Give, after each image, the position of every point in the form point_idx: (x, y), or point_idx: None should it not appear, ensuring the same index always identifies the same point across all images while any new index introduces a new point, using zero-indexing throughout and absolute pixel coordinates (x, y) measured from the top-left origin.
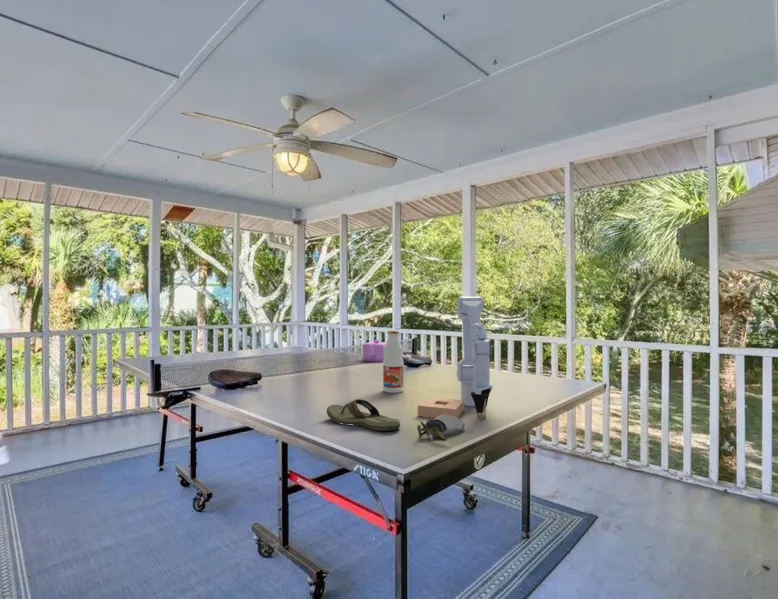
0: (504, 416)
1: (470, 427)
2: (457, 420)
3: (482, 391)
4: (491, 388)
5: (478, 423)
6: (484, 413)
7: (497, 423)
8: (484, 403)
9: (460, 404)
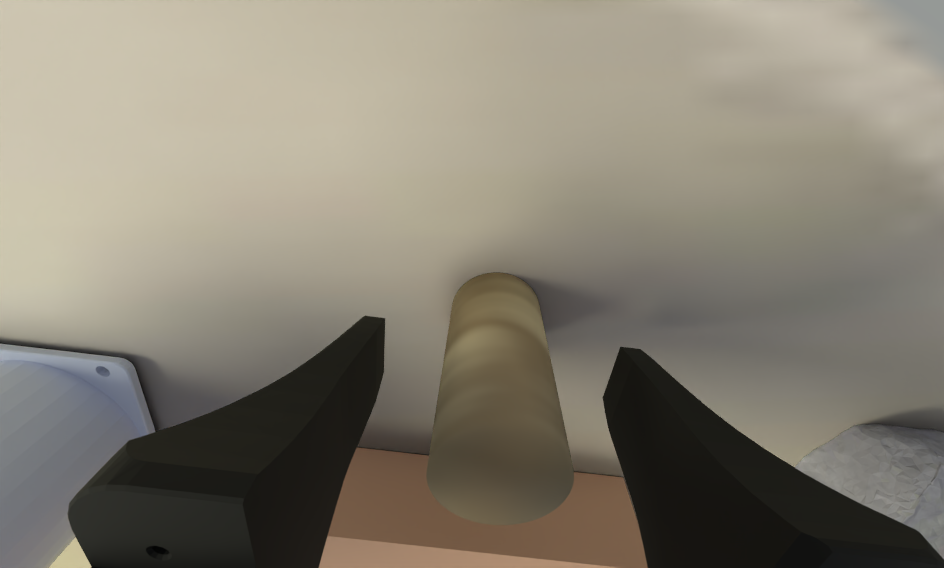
0: (361, 62)
1: (824, 380)
2: (941, 524)
3: (300, 555)
4: (127, 488)
5: (698, 328)
6: (534, 313)
7: (692, 147)
8: (547, 394)
9: (448, 546)
